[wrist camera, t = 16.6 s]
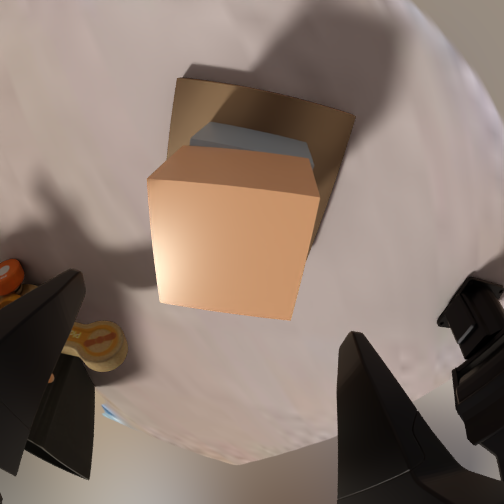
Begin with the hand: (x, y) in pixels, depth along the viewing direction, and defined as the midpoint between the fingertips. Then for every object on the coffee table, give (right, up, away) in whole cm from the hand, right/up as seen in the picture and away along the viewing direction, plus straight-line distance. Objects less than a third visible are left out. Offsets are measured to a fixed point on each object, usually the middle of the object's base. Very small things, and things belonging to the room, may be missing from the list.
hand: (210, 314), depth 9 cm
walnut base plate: (+1, +7, +11) cm, 13 cm away
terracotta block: (+1, +4, +6) cm, 8 cm away
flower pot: (-30, -15, +30) cm, 45 cm away
